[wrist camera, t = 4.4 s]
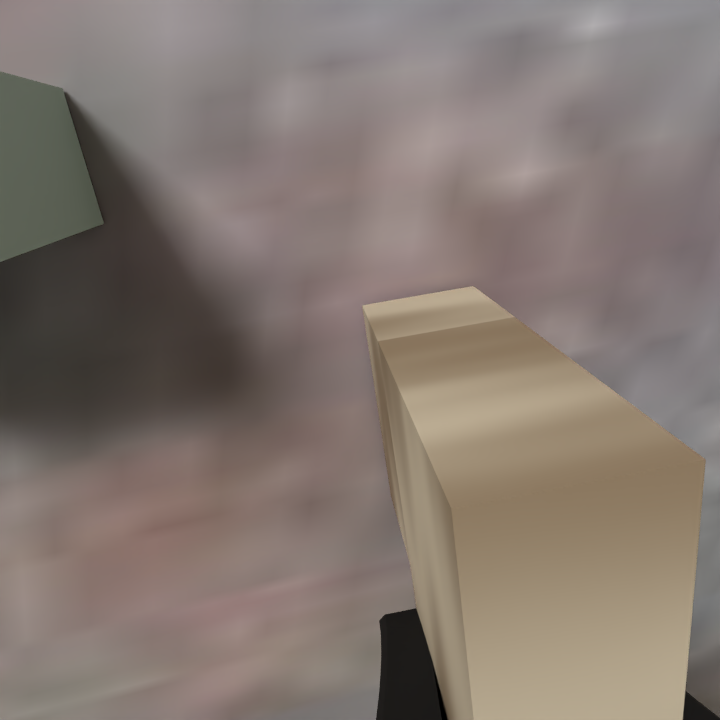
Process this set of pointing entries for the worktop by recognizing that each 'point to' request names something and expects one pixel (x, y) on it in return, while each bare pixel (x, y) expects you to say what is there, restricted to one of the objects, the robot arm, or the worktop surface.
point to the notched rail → (40, 169)
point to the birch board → (533, 518)
